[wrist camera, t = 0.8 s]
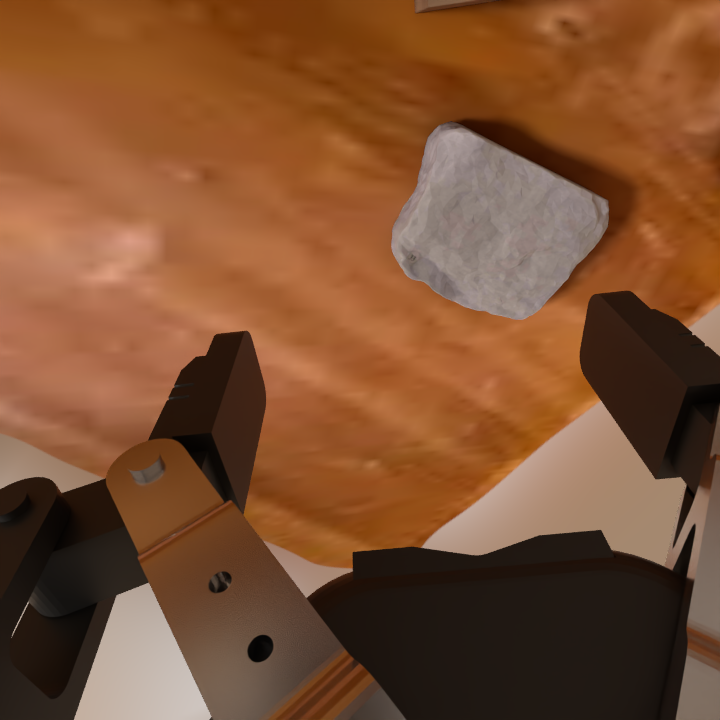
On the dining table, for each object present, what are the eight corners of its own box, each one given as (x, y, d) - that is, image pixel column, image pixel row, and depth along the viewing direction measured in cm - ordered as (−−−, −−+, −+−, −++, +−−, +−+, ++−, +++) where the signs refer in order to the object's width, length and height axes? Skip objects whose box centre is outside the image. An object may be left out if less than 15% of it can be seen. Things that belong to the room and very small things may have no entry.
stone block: (517, 299, 37) (610, 182, 30) (527, 340, 34) (635, 218, 27) (374, 240, 35) (442, 100, 28) (369, 278, 31) (446, 127, 25)
